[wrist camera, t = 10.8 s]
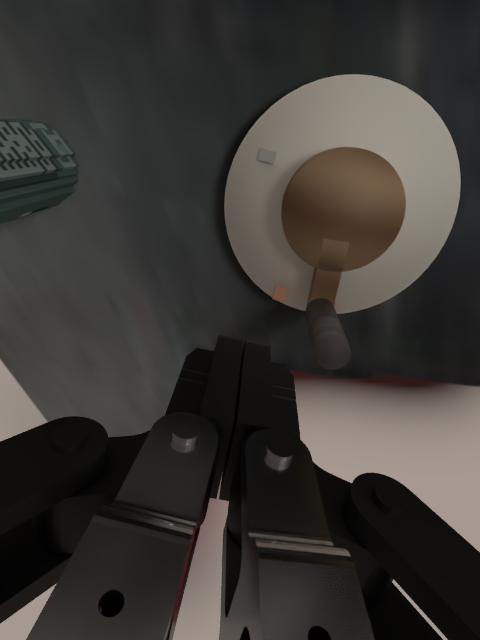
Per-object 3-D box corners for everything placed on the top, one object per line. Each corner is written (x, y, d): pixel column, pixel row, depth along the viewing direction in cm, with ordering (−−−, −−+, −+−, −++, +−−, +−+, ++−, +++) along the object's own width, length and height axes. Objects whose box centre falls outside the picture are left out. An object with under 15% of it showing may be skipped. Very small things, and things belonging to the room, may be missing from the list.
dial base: (500, 119, 28) (512, 119, 27) (391, 330, 36) (396, 338, 34) (262, 42, 27) (262, 37, 25) (203, 277, 35) (201, 283, 33)
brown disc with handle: (292, 139, 28) (301, 140, 20) (415, 155, 28) (471, 163, 20) (264, 309, 34) (263, 360, 26) (365, 323, 34) (394, 378, 26)
